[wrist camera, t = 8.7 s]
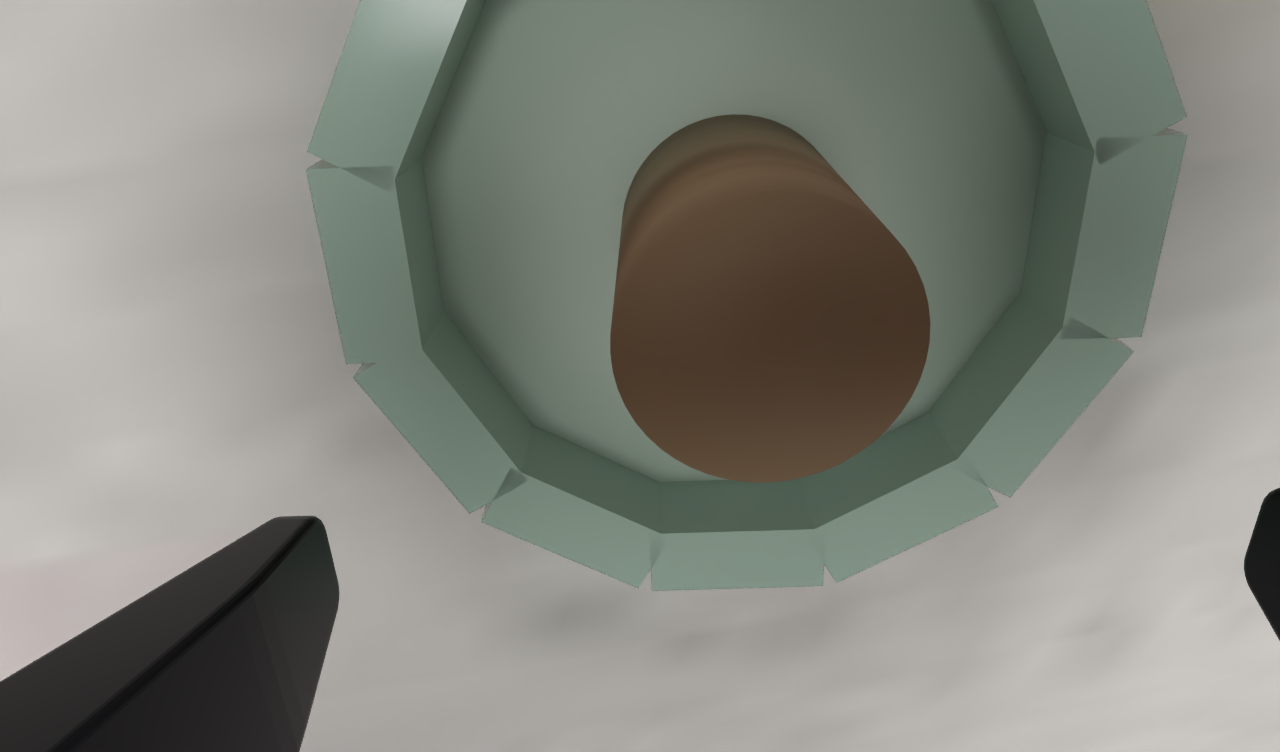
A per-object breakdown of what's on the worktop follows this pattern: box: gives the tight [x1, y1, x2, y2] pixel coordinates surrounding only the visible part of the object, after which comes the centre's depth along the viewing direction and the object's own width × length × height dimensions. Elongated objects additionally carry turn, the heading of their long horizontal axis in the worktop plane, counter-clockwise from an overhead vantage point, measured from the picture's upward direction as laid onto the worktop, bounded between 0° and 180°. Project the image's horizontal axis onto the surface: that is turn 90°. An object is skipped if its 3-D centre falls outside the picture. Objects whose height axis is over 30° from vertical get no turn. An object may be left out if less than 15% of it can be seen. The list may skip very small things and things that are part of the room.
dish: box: [306, 0, 1187, 591], centre depth 17 cm, size 15×15×3 cm
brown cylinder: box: [610, 114, 930, 483], centre depth 15 cm, size 4×4×6 cm
